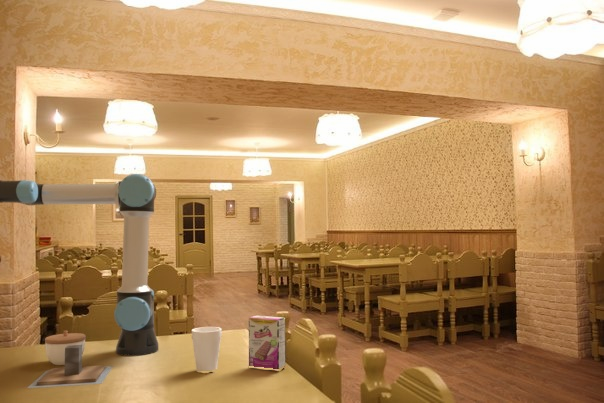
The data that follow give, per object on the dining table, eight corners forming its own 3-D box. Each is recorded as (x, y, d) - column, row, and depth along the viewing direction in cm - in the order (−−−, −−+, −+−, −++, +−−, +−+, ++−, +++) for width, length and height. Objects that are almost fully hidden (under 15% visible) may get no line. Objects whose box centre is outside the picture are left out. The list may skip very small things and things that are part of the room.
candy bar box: (247, 369, 167) (247, 317, 168) (255, 365, 172) (255, 315, 173) (278, 372, 163) (278, 319, 164) (286, 368, 167) (285, 316, 168)
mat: (113, 368, 170) (113, 366, 170) (101, 385, 151) (101, 383, 151) (47, 371, 167) (47, 370, 167) (26, 389, 147) (26, 388, 147)
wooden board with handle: (105, 368, 168) (105, 340, 169) (95, 382, 152) (96, 350, 153) (52, 371, 165) (52, 342, 166) (36, 385, 149) (37, 353, 150)
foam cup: (215, 375, 160) (215, 332, 161) (186, 374, 162) (186, 331, 162) (225, 367, 169) (225, 327, 170) (198, 366, 171) (198, 326, 172)
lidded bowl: (59, 370, 168) (59, 335, 169) (36, 365, 175) (37, 332, 176) (93, 362, 179) (93, 329, 180) (70, 357, 186) (71, 326, 186)
